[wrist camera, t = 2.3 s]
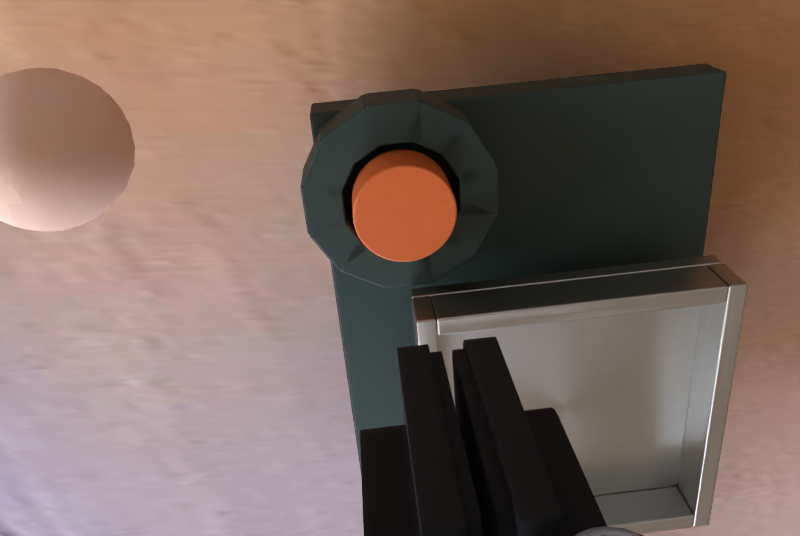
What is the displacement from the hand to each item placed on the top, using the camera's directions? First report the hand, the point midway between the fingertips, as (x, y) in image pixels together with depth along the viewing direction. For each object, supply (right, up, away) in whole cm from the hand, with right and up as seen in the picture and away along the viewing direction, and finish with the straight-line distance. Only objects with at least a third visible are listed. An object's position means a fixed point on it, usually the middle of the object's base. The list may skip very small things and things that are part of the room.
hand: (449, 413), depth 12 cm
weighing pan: (+5, -2, +13) cm, 14 cm away
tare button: (-1, +5, +9) cm, 10 cm away
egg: (-11, +7, +10) cm, 17 cm away
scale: (+3, +1, +14) cm, 15 cm away
